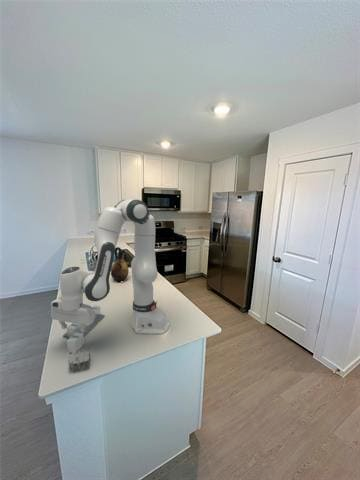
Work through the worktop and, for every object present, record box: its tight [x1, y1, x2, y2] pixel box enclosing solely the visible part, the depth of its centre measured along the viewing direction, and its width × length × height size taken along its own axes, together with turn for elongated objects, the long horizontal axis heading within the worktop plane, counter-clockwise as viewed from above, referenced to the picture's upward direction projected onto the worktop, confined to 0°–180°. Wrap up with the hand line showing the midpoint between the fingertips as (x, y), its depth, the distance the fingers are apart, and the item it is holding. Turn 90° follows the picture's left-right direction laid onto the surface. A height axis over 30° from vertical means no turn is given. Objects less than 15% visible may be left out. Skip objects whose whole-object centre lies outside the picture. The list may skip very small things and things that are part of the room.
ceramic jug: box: [110, 246, 130, 282], centre depth 176 cm, size 17×15×30 cm
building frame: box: [68, 347, 91, 374], centre depth 84 cm, size 6×8×6 cm
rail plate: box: [62, 305, 106, 339], centre depth 111 cm, size 10×23×6 cm, turn 169°
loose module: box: [66, 332, 85, 354], centre depth 94 cm, size 4×6×6 cm, turn 169°
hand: (73, 329), depth 92 cm, fingers open, 8 cm apart
